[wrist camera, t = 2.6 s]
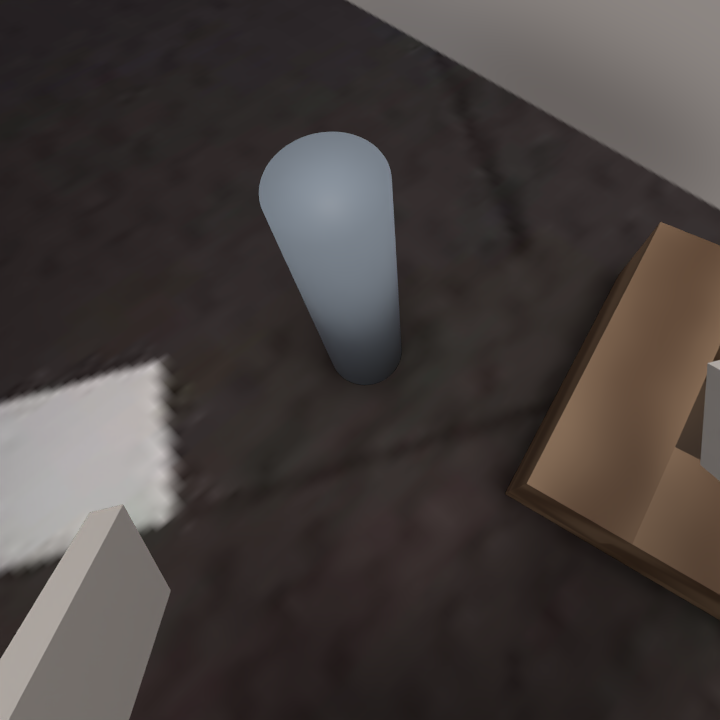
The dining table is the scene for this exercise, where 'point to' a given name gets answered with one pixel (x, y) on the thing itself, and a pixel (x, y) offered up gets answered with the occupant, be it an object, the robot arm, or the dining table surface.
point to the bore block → (640, 424)
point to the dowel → (340, 246)
